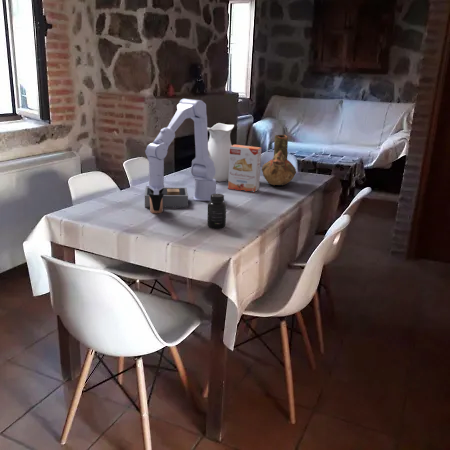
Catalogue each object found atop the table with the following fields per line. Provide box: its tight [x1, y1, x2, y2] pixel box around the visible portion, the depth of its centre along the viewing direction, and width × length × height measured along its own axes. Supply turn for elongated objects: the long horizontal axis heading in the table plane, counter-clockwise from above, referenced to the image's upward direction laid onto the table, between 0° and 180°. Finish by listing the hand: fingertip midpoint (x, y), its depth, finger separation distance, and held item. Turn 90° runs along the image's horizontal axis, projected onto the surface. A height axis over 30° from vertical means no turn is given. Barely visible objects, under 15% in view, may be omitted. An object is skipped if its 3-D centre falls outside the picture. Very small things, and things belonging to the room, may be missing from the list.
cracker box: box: [227, 144, 262, 193], centre depth 227 cm, size 14×6×21 cm, turn 68°
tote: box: [144, 186, 189, 209], centre depth 203 cm, size 18×14×5 cm
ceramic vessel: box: [261, 134, 297, 186], centre depth 238 cm, size 17×26×25 cm, turn 171°
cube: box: [167, 189, 179, 195], centre depth 204 cm, size 5×5×5 cm
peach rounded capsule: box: [149, 193, 164, 214], centre depth 191 cm, size 5×5×7 cm
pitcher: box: [207, 122, 235, 182], centre depth 242 cm, size 24×17×28 cm
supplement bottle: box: [206, 193, 227, 230], centre depth 176 cm, size 7×7×12 cm
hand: (156, 207), depth 191 cm, fingers open, 7 cm apart
